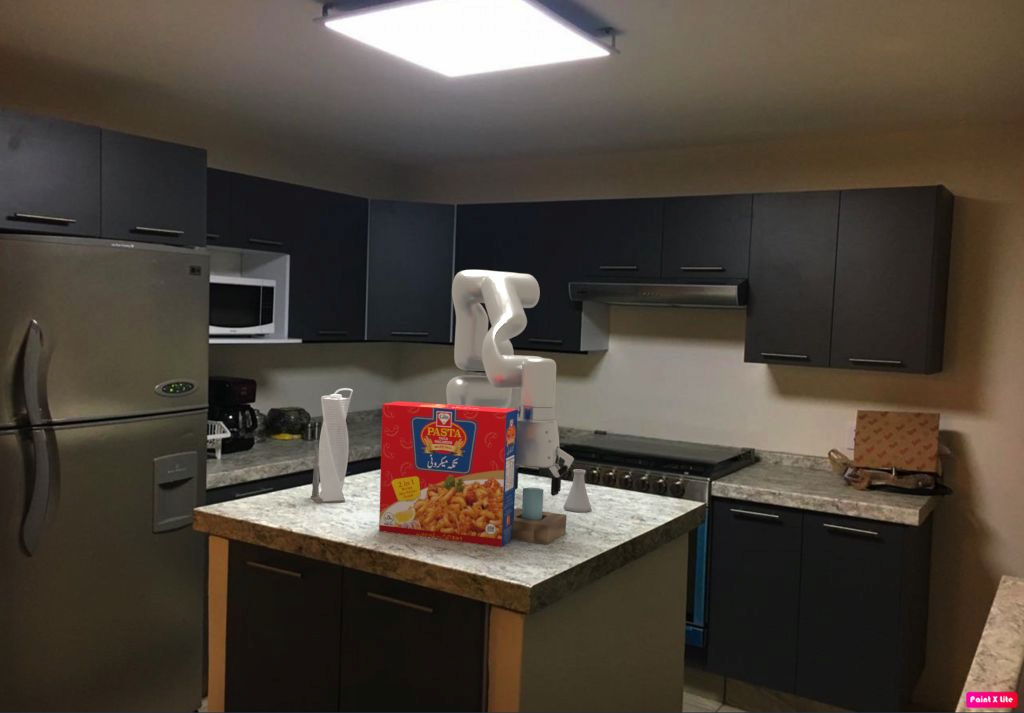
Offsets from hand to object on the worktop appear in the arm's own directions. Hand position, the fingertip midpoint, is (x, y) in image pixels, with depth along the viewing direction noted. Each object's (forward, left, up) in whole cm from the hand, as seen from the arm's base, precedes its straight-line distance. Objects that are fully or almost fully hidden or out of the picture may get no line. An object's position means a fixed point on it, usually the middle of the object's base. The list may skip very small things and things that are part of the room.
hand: (533, 492), depth 185 cm
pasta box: (-16, -10, -10) cm, 21 cm away
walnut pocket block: (0, 0, -10) cm, 10 cm away
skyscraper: (-55, +4, -10) cm, 56 cm away
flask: (+1, +30, -10) cm, 32 cm away
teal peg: (0, 0, -10) cm, 10 cm away
